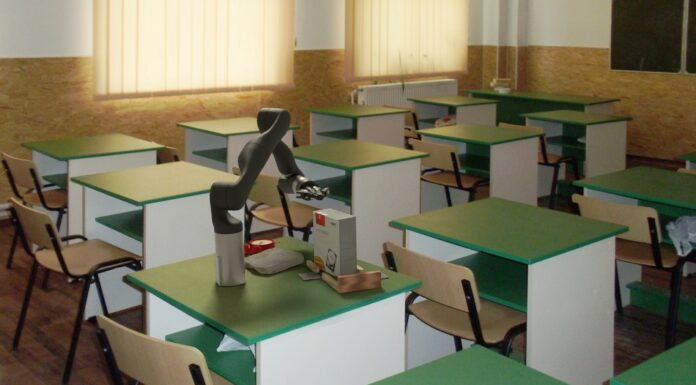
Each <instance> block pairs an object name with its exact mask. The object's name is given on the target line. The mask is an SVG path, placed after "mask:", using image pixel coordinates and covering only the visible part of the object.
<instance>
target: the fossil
mask: <svg viewBox="0 0 696 385" xmlns="http://www.w3.org/2000/svg"><path fill="white" fill-rule="evenodd" d="M244 258H245V268H249V269H253V270H255V271H256V272H257V273H259V274H261V275H272V274H275V273H279V272H282V271H285V270H287V269H290V268H292V267H295V266H298V265H302V264H303V262H304V259H305V258H304V255H303V253H301V252H298V251H295V250H290V249H286V248H282V247H281V248H280V247H276V246H275V248H272V249H267V250H265V251H263V252H260V253H258V254H255V255H252V254H250V255H249V256H247V257H244Z"/></svg>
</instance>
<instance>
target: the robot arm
mask: <svg viewBox="0 0 696 385" xmlns="http://www.w3.org/2000/svg"><path fill="white" fill-rule="evenodd" d="M291 121H292V116H291V113H290V111H288V110H287V109H285V108H281V107H280V108H277V107H276V108H275V107H263V108H260V109H259V110H258V113H257V115H256V124H257V128H258V131H259V133H260V134H258V135H257V136H255V137H253V138H251V139H249V140H248V141H247V142H246V143H245V145H244V146H243V148H242V149H241V151H240V153H239V154H238V157H237V166H238V170H239V171H240V176H239V178H238V179H237V180H236V181H226V180H225V181H224V180H223V181H222V180H221V181H220V180H218V181H214V182H213V183H212V184H211V186H210V190H209V205H210V206H209V207H210V214H211V223H212V226H213V231H214V233H213V234H214V249H215V250H214V253H213V259H214V260H213V261H214V274H215V275H214V276H215V277H214V278H215V283H216V284H217V285H218V287H234V286H240V285H242V284H243V285H244V284H245V283H246V282H247V280H246V278H247V277H246V267H245V258H246V257H245V254H244V244H245V242H244V241H245V240H244V226H243V224H244V223H243V221H242V220H241V219H239V218H236V217H235V216H233V215H232V214H231V213H230V212H231V211H233V212H235V211H240V210H242V209H243V208H244V207H245V205H246V203H247V201H248V199H249V197H250V194H251V192H252V190H253V187H254V185H255V183H256V182H257V179H258V177H259V175H260V174H261V172H262V171H263V170H264V167H265V166H266V165H267V162H268V161H269V159H270V157H271V155H273V159H274V161H275V164H276V166H277V169H278V171H279V173H280V174H281V176H280V177H279V178H278V180H277V185H278V188H279V189H280V190H281V191H282V192H283V193H284V194H286V195H287V194H288V195H294V194H295V198H296V199H301V200H303V201H305V202H307V201H308V202H309V201H313V200H317V201H319V202H320V201H323V200H324V199H325V198H326V197H328V196H329V195H330V187H325V188H321V187H319V185H318V184H317V183H316V182H315V181H314V180H312V179H310V178H308V177H306V175H305V174H304V173H303V171H302V170H301V169H300V167H299V166H298V164H297V162H296V159H295V156H294V153H293V151H292V149H291V148H290V147H289V146H288V145H287V144H286V142H284V140H282V139H283V138H284V137H285V135H286V134H287V132H288V131H289V129H290V126H291V123H292V122H291ZM229 211H230V212H229Z"/></svg>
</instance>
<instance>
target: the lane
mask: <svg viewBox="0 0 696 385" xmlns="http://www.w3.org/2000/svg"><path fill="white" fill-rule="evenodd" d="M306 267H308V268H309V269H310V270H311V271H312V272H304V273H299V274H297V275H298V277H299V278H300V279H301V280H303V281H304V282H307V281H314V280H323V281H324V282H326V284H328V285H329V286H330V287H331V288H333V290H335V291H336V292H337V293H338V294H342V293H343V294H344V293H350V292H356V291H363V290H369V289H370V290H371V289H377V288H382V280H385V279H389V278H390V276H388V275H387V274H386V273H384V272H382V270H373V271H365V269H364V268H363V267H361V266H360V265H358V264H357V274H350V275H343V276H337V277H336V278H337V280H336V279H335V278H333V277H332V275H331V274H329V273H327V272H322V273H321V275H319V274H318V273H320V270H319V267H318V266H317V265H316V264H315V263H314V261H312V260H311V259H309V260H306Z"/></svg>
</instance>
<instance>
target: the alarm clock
mask: <svg viewBox="0 0 696 385" xmlns="http://www.w3.org/2000/svg"><path fill="white" fill-rule="evenodd" d="M276 244H281V241H279V242H278V241H277V242H275V240H274V239H273V238H268V237H267V238H264V237H263V238H255V239H252V240H249V244H248V243H246V242H244V255H246V256H248V255H255V254H258V253H260V252H263V251H265V250H267V249H272V248H275V247H276Z"/></svg>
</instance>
